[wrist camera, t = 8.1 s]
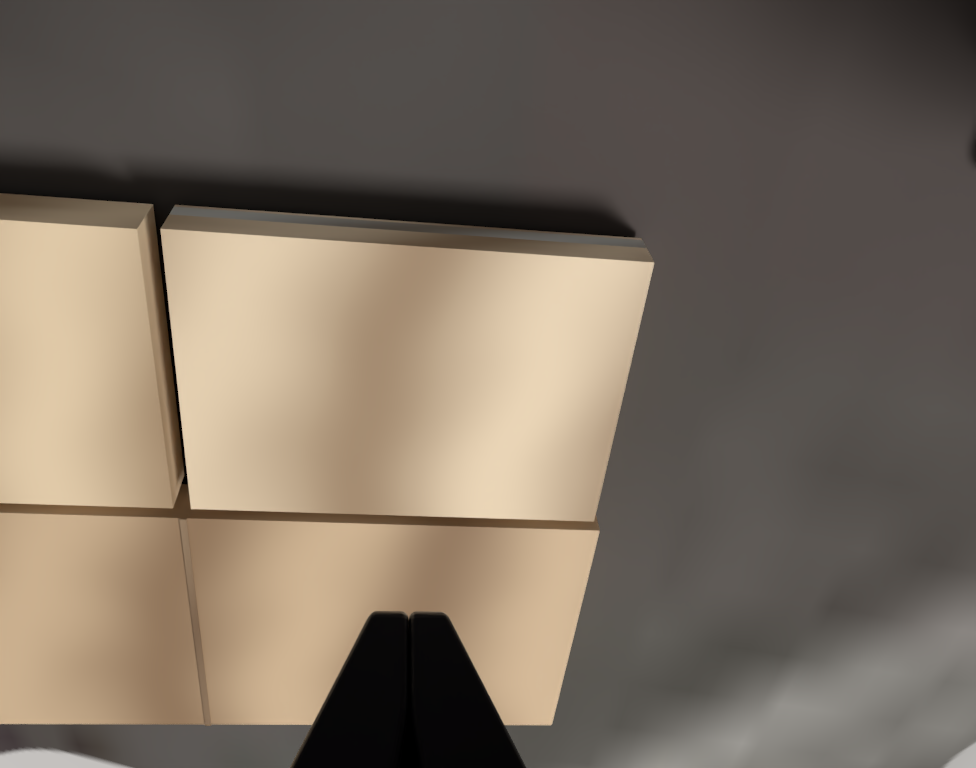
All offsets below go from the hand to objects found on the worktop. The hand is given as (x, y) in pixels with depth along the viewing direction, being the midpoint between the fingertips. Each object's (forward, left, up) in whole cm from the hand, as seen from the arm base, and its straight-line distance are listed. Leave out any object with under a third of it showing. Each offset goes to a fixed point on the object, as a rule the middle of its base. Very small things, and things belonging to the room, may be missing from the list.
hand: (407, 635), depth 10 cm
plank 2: (0, +3, -10) cm, 11 cm away
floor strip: (+5, +11, -10) cm, 16 cm away
